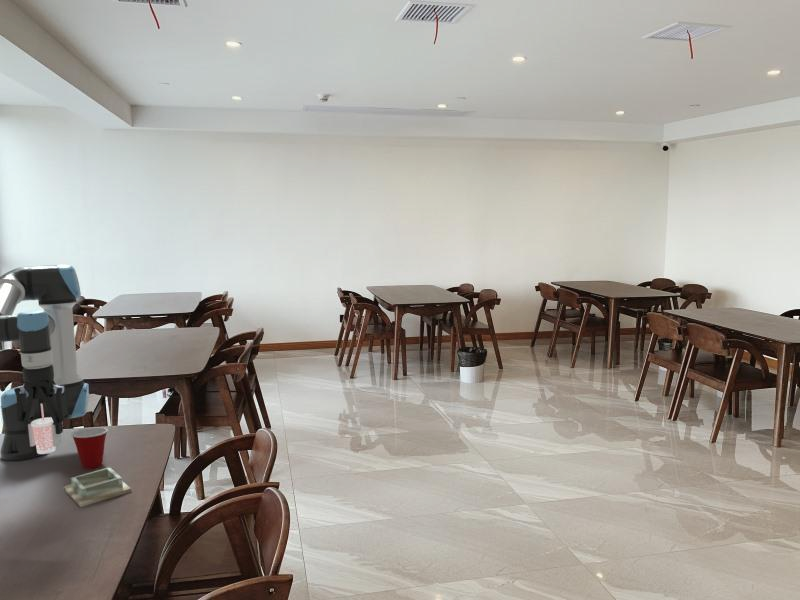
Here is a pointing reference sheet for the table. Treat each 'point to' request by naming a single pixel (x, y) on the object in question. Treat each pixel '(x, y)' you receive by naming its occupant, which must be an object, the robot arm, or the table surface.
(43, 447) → the beverage cup
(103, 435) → the plastic cup
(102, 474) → the cup stand
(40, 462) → the table surface
